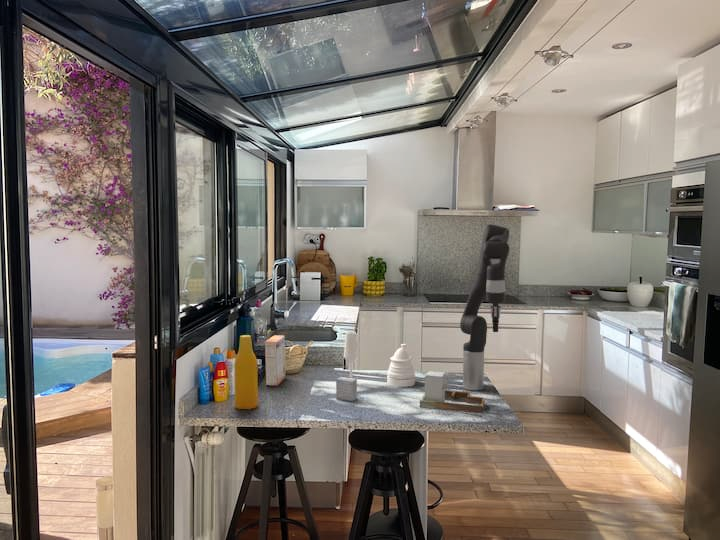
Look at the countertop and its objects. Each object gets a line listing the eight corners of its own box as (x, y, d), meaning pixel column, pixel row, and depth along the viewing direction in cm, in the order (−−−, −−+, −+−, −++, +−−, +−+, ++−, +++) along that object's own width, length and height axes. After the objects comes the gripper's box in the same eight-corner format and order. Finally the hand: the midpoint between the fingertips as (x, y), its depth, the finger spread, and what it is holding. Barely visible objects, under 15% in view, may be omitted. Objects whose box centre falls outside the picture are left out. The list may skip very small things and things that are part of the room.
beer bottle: (250, 411, 220) (249, 339, 218) (230, 408, 223) (229, 337, 221) (262, 404, 229) (261, 334, 227) (242, 401, 232) (241, 333, 230)
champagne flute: (360, 385, 256) (360, 333, 254) (345, 386, 254) (345, 334, 252) (355, 381, 263) (355, 331, 261) (342, 382, 261) (342, 331, 259)
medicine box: (357, 398, 236) (357, 378, 236) (352, 401, 232) (352, 381, 232) (340, 396, 240) (340, 376, 239) (335, 399, 236) (335, 379, 235)
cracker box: (273, 377, 269) (273, 334, 267) (285, 378, 268) (285, 335, 266) (264, 385, 255) (264, 340, 253) (277, 386, 254) (277, 341, 253)
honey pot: (396, 377, 269) (396, 341, 267) (419, 382, 261) (420, 344, 260) (381, 383, 258) (382, 345, 257) (405, 388, 251) (405, 349, 249)
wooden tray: (427, 394, 242) (427, 388, 242) (485, 399, 235) (485, 393, 235) (419, 406, 226) (419, 400, 225) (482, 412, 219) (482, 406, 218)
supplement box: (441, 407, 225) (442, 376, 224) (424, 405, 228) (424, 375, 227) (445, 401, 232) (445, 372, 231) (428, 399, 235) (428, 370, 234)
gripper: (505, 293, 219) (504, 336, 222) (505, 287, 232) (504, 328, 234) (485, 293, 221) (485, 335, 224) (486, 287, 234) (486, 327, 236)
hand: (495, 331), depth 229 cm, fingers closed
